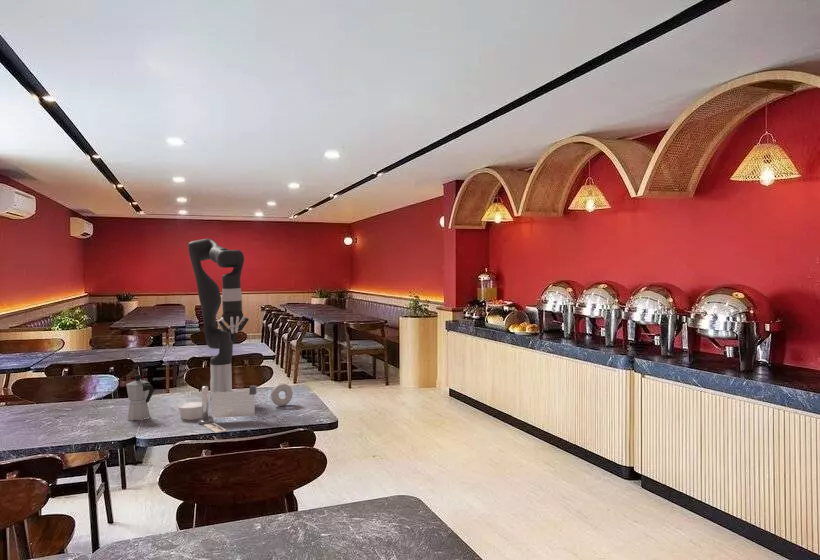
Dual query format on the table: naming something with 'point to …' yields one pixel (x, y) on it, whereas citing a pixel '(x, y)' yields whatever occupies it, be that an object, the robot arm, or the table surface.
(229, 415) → the white upright panel
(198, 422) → the pivot base
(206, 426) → the label
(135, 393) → the coffee maker
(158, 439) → the table surface
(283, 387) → the donut
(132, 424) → the table surface
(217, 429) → the label
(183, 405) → the ramekin
